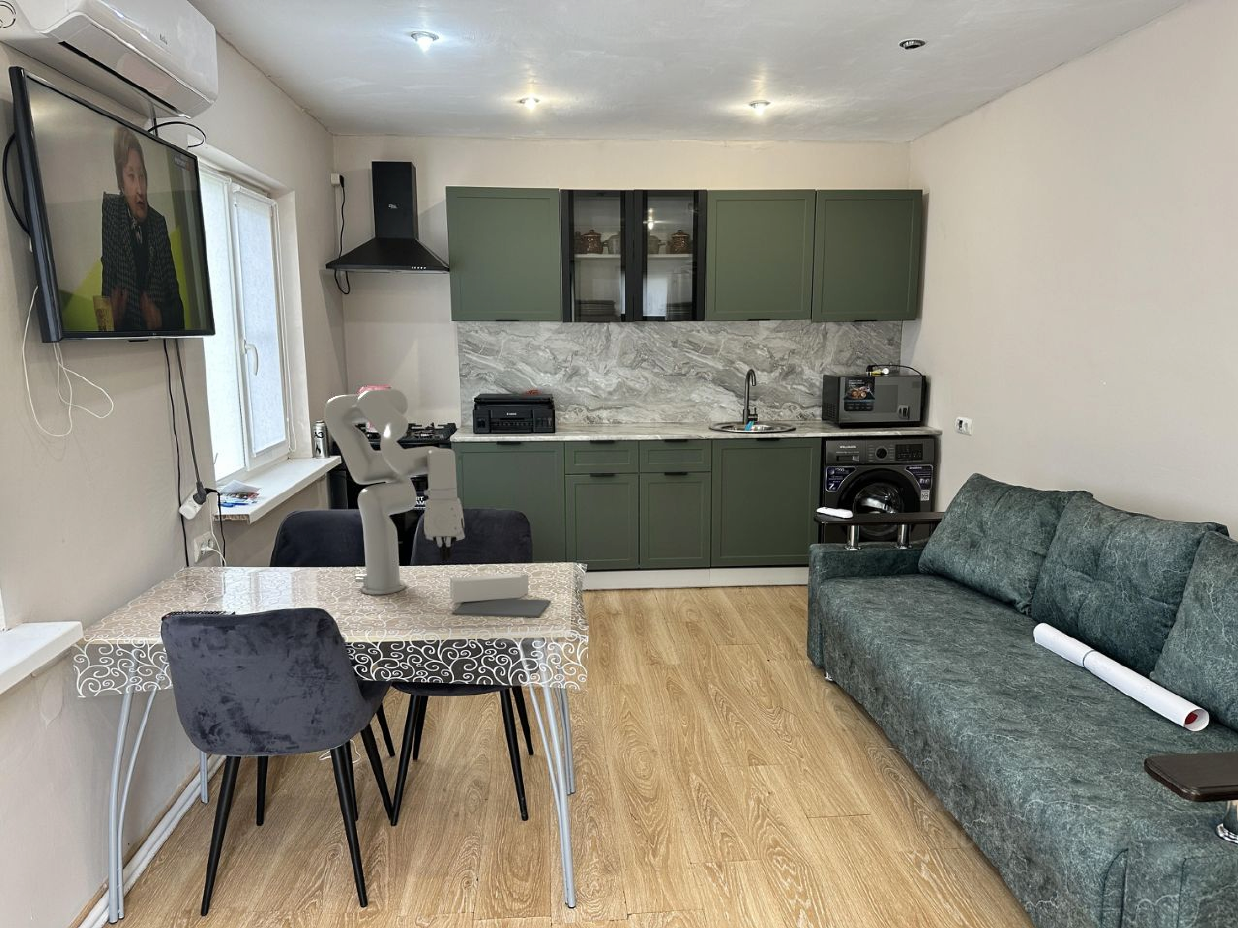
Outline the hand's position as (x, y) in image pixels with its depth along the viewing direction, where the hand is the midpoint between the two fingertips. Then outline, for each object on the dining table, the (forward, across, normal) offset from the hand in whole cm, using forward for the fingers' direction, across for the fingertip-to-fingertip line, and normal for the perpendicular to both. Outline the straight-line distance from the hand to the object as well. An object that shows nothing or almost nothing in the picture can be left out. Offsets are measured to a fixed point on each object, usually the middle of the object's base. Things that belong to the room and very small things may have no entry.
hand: (446, 559), depth 215 cm
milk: (+9, 0, +2) cm, 9 cm away
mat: (+13, +15, 0) cm, 20 cm away
